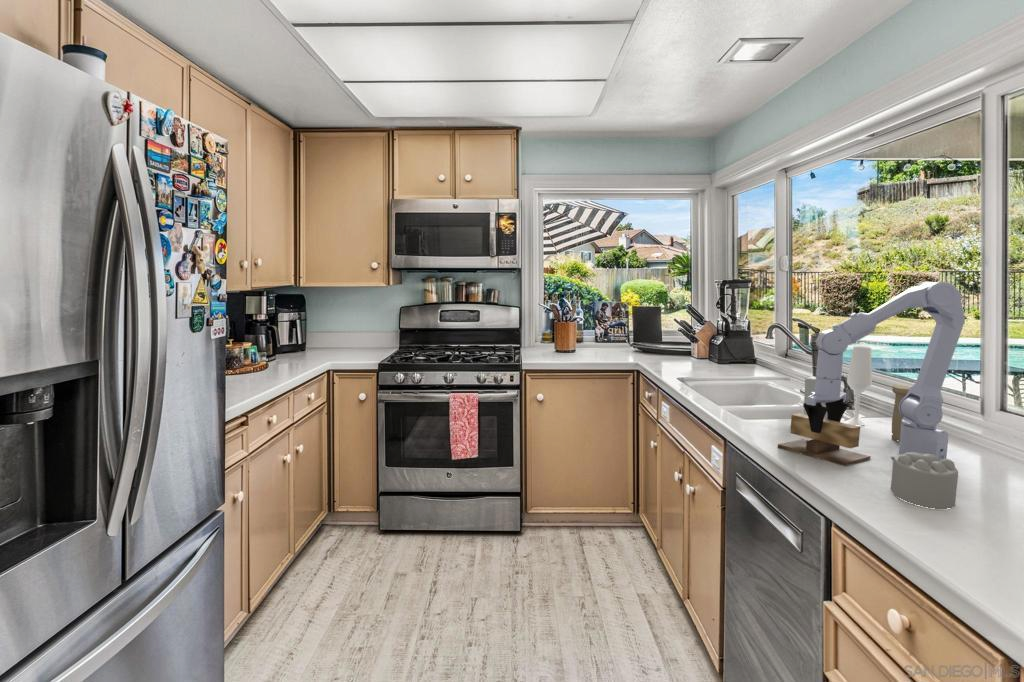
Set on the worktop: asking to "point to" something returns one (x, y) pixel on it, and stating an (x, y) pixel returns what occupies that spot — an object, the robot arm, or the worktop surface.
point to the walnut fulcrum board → (824, 451)
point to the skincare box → (811, 388)
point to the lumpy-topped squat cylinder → (924, 480)
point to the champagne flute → (859, 377)
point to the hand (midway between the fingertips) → (824, 430)
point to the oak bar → (827, 431)
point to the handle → (897, 417)
